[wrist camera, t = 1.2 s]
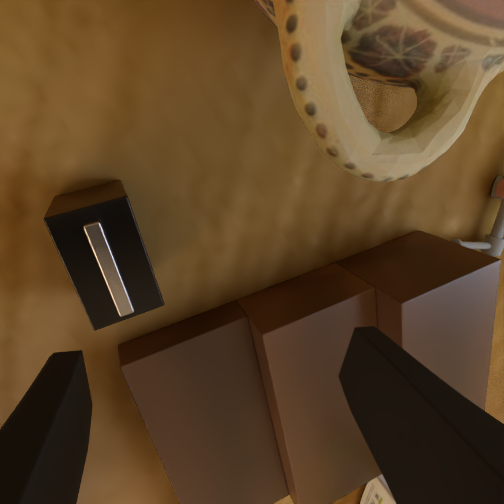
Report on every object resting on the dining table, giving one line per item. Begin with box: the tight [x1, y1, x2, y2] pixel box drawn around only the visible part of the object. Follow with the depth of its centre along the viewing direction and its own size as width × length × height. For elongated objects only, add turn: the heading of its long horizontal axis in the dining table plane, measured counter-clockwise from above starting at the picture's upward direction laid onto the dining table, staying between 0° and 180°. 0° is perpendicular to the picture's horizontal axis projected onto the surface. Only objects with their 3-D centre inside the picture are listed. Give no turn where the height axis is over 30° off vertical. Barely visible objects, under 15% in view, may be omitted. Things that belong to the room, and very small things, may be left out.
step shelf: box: [118, 230, 501, 504], centre depth 24 cm, size 21×16×6 cm
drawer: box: [44, 180, 164, 330], centre depth 16 cm, size 3×5×5 cm, turn 11°
